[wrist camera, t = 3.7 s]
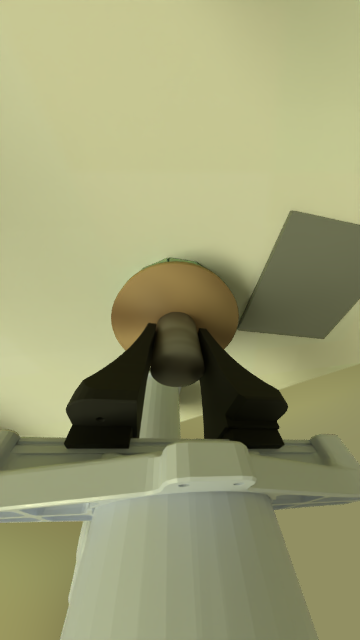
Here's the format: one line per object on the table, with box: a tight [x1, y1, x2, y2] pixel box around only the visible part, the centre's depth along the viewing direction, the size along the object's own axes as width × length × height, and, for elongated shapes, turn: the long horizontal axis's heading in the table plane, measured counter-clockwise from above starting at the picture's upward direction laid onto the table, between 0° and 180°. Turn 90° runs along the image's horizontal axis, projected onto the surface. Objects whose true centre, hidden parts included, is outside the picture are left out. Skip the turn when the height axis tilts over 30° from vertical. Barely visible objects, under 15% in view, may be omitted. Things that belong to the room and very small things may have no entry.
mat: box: [237, 211, 360, 339], centre depth 16 cm, size 12×12×1 cm
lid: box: [111, 261, 239, 387], centre depth 12 cm, size 11×11×6 cm
